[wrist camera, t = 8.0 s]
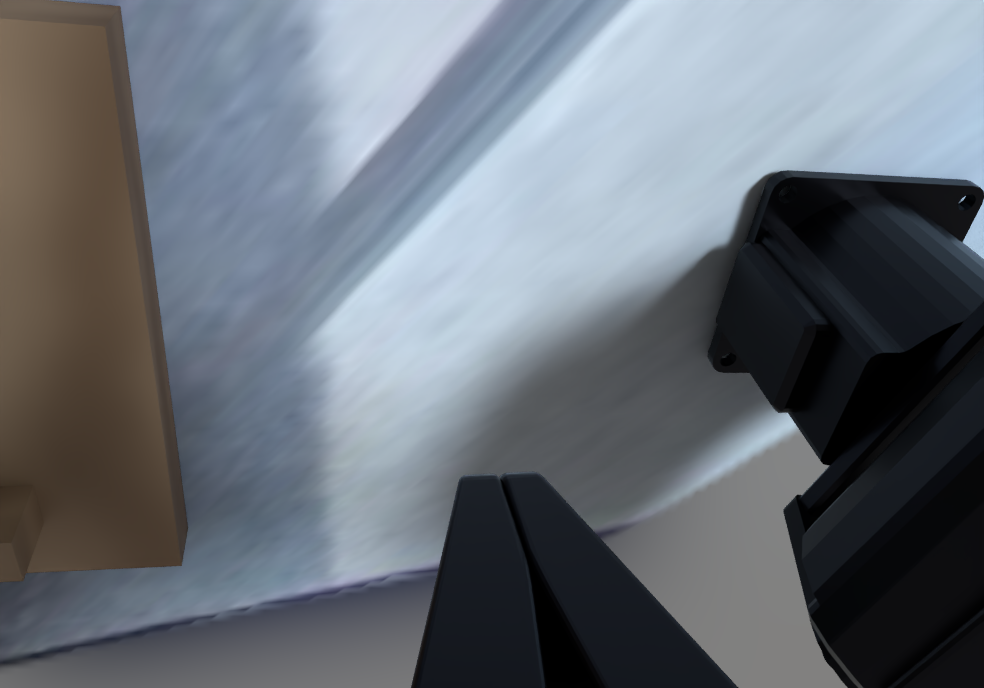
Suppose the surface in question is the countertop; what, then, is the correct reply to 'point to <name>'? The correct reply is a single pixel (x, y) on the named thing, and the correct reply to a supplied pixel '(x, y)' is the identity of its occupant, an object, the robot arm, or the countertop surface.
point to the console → (78, 308)
